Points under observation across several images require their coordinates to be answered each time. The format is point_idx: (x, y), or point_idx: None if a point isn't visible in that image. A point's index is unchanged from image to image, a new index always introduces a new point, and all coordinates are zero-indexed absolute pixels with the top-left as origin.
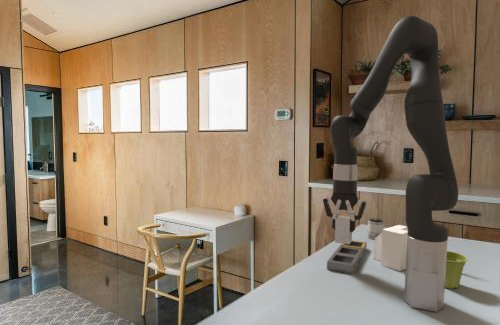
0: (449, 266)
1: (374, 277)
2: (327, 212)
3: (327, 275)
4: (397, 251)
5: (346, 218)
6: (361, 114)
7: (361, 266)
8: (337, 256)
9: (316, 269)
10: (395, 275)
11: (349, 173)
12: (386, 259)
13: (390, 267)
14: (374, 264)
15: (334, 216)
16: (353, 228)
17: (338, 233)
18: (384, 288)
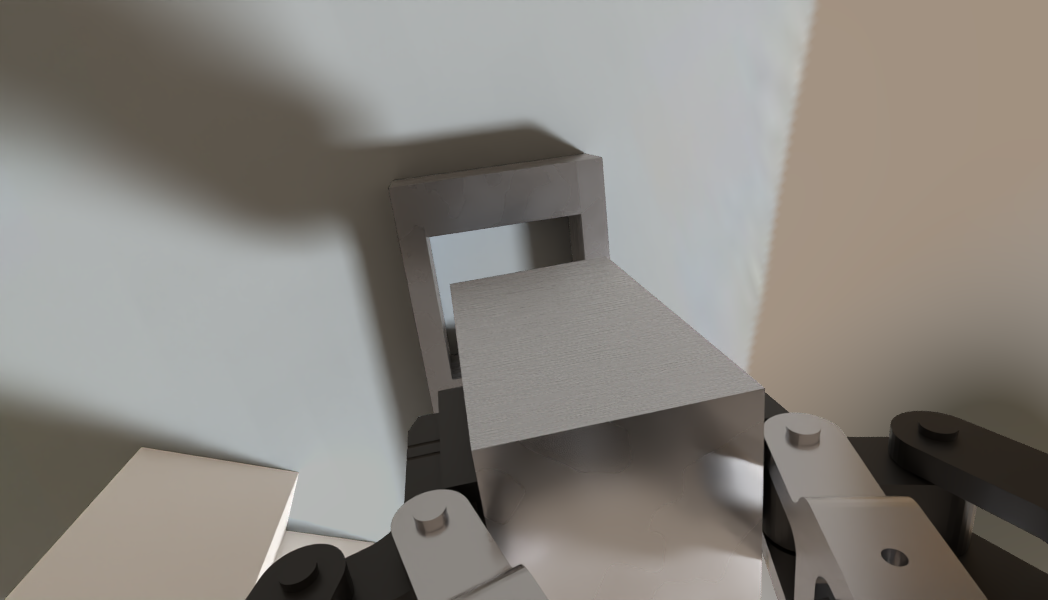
0: None
1: (230, 212)
2: (1003, 453)
3: (538, 28)
4: (87, 551)
5: (559, 479)
6: None
7: (397, 364)
8: None
9: (649, 102)
10: (126, 346)
11: None
12: (236, 499)
13: (217, 461)
14: (337, 454)
15: (804, 444)
16: (426, 433)
17: (601, 297)
18: (65, 30)
